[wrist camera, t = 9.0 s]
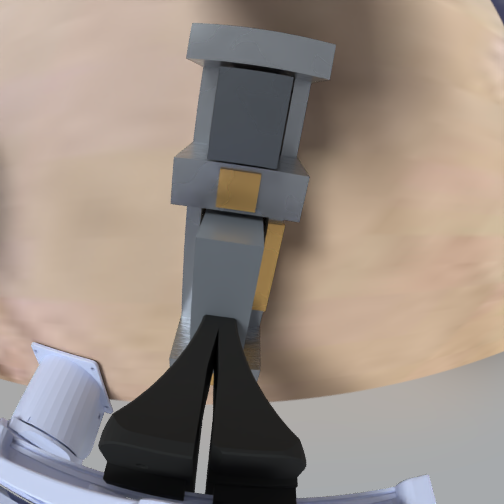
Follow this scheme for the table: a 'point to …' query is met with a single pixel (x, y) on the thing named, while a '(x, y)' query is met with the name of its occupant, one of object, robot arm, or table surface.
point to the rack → (246, 146)
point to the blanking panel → (226, 268)
